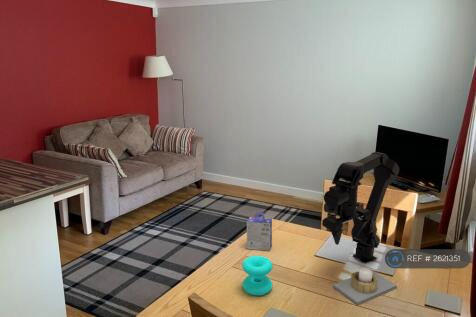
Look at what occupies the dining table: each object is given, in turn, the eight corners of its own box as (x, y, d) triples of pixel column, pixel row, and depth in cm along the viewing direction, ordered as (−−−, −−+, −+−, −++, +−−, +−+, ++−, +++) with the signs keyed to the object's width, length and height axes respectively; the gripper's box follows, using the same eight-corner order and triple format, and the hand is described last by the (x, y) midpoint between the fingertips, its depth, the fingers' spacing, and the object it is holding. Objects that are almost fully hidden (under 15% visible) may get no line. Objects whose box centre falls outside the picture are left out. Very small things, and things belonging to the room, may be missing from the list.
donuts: (260, 251, 132) (278, 263, 124) (260, 276, 134) (278, 290, 126) (236, 259, 127) (253, 273, 119) (237, 285, 129) (253, 301, 121)
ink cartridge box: (272, 245, 157) (272, 212, 153) (270, 251, 152) (271, 217, 148) (248, 243, 159) (248, 210, 155) (246, 249, 154) (246, 216, 150)
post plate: (370, 272, 136) (372, 257, 134) (396, 288, 126) (398, 271, 125) (332, 287, 127) (333, 271, 126) (357, 305, 118) (358, 288, 117)
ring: (363, 276, 131) (364, 269, 131) (381, 288, 124) (382, 280, 124) (345, 283, 128) (346, 275, 127) (363, 295, 121) (364, 287, 120)
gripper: (349, 187, 142) (347, 226, 146) (311, 198, 132) (310, 238, 136) (374, 196, 132) (371, 237, 136) (335, 208, 123) (333, 251, 127)
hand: (346, 240), depth 134 cm, fingers open, 9 cm apart
